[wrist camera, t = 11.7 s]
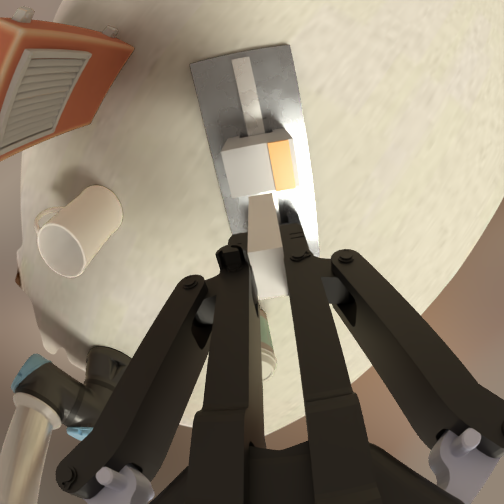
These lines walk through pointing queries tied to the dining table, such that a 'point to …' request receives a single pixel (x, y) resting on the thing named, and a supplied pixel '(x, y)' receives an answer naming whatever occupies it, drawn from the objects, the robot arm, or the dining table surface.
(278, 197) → the rail board
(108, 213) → the mug
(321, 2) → the dining table surface
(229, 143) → the module
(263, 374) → the coffee cup
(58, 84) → the control panel
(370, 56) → the dining table surface
